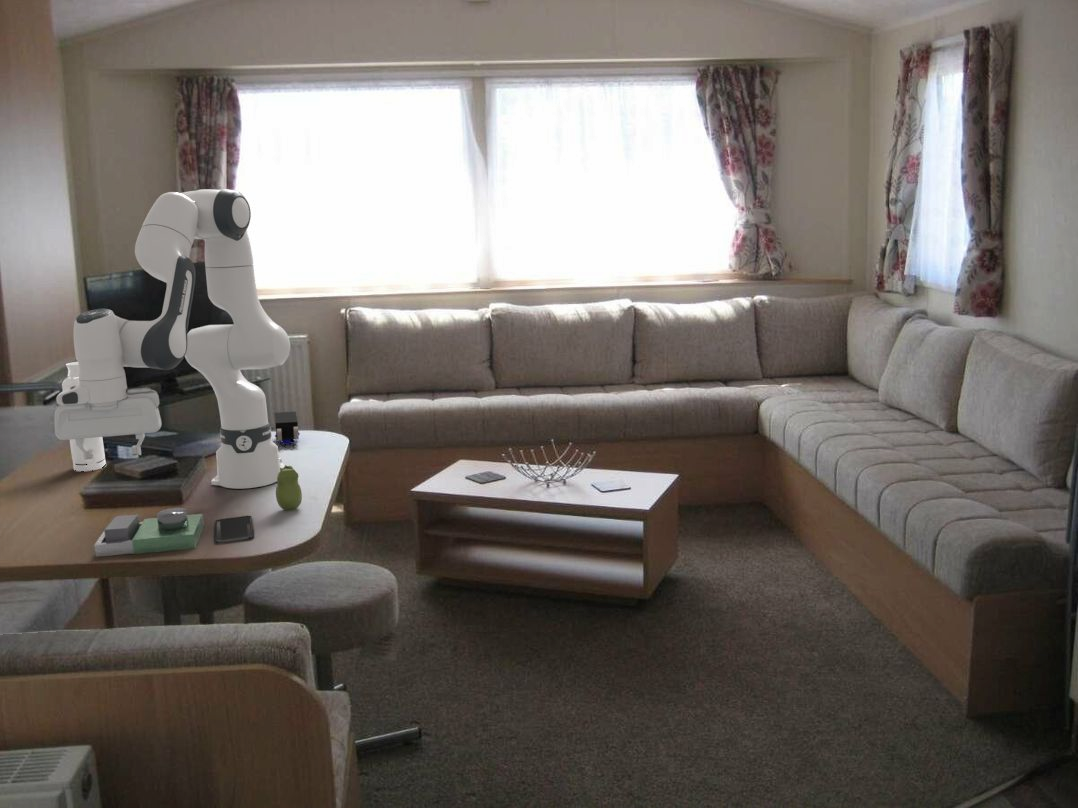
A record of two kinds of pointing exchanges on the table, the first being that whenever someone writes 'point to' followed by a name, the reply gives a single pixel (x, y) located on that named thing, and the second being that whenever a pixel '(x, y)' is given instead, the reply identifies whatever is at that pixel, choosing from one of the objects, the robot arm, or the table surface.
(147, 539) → the multicoloured piece
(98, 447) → the bottle
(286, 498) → the pear
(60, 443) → the table surface
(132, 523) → the grey rectangular cuboid
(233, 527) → the phone
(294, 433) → the figurine character
